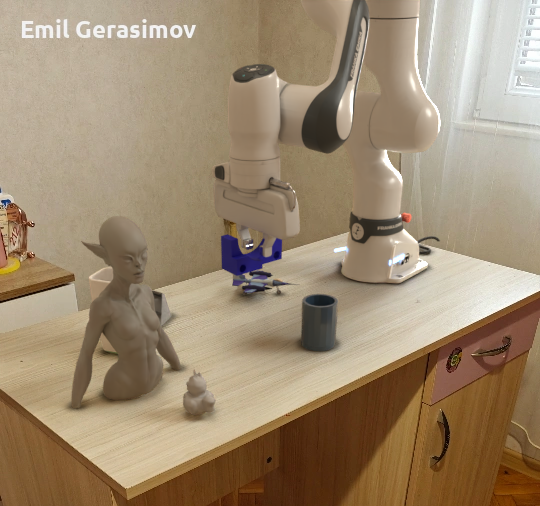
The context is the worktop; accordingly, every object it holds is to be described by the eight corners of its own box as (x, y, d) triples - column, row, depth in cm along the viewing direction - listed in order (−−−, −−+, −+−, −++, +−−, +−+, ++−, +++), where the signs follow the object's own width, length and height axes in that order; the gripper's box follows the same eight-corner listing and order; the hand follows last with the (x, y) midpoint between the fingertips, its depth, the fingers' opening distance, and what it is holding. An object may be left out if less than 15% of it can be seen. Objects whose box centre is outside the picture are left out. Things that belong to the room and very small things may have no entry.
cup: (129, 359, 137) (119, 283, 128) (95, 353, 139) (84, 278, 130) (147, 344, 142) (139, 270, 134) (115, 339, 144) (105, 265, 136)
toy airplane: (303, 296, 163) (303, 280, 161) (249, 308, 158) (249, 292, 155) (273, 278, 172) (273, 263, 170) (221, 289, 167) (221, 274, 165)
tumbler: (318, 333, 147) (320, 291, 142) (342, 344, 143) (345, 301, 137) (293, 342, 143) (294, 299, 138) (317, 354, 139) (319, 310, 134)
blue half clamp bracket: (236, 275, 130) (236, 242, 126) (221, 268, 132) (220, 235, 129) (286, 261, 136) (287, 229, 132) (271, 254, 139) (272, 222, 135)
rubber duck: (198, 400, 124) (195, 358, 119) (226, 413, 120) (224, 370, 116) (175, 413, 120) (171, 369, 116) (203, 426, 117) (200, 382, 112)
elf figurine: (97, 425, 117) (68, 239, 100) (67, 403, 123) (34, 224, 105) (205, 381, 130) (196, 209, 112) (173, 363, 135) (160, 197, 118)
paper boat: (188, 312, 152) (160, 315, 145) (173, 334, 156) (144, 337, 148) (155, 271, 154) (125, 272, 147) (141, 293, 158) (111, 295, 151)
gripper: (309, 181, 120) (307, 262, 129) (233, 160, 133) (235, 235, 141) (280, 187, 117) (280, 270, 125) (205, 165, 130) (210, 242, 138)
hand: (256, 252), depth 133 cm, fingers closed on blue half clamp bracket, 4 cm apart
